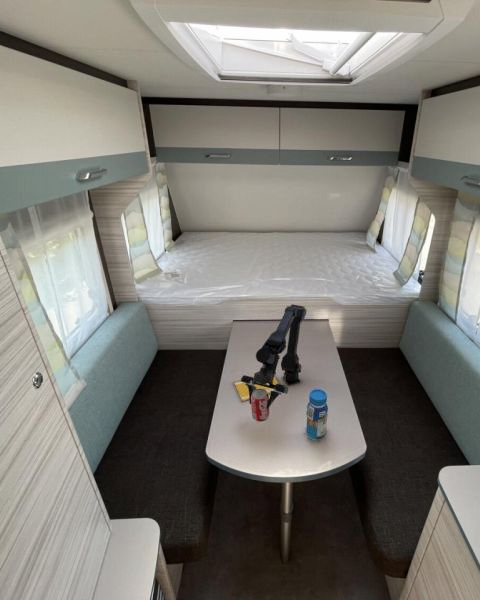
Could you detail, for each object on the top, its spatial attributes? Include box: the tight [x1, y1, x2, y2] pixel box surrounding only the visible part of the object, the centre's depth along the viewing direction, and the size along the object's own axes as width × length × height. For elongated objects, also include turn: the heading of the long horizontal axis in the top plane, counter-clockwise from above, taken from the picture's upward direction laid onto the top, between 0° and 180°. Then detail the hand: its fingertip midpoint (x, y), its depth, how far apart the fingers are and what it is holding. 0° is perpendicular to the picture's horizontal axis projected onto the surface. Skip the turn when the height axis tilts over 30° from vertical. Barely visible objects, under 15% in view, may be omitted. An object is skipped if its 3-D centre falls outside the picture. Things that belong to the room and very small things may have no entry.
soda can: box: [250, 389, 270, 423], centre depth 129 cm, size 7×7×12 cm
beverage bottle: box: [305, 388, 329, 441], centre depth 128 cm, size 8×8×20 cm
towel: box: [233, 376, 280, 402], centre depth 159 cm, size 20×14×1 cm
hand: (258, 406), depth 128 cm, fingers closed on soda can, 7 cm apart
